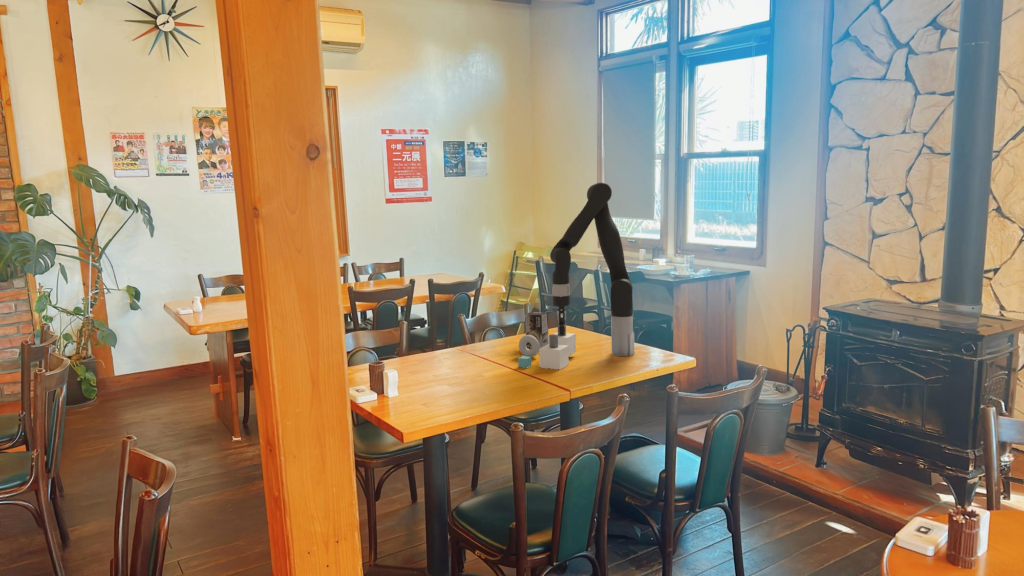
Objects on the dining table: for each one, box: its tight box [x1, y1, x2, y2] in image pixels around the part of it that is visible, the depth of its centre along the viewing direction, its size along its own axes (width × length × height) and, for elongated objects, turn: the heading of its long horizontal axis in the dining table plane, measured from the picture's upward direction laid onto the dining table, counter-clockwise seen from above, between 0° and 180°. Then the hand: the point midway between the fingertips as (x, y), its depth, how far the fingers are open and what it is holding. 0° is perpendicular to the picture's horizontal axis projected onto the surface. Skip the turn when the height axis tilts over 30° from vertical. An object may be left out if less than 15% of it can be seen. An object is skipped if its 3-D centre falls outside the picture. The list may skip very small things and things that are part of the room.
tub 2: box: [538, 333, 570, 371], centre depth 274 cm, size 9×9×13 cm
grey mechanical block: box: [524, 311, 550, 349], centre depth 310 cm, size 9×6×16 cm
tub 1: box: [548, 322, 577, 357], centre depth 288 cm, size 9×9×13 cm
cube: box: [517, 355, 532, 369], centre depth 275 cm, size 4×4×4 cm
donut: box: [518, 334, 540, 358], centre depth 291 cm, size 10×4×10 cm, turn 60°
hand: (562, 333), depth 287 cm, fingers closed on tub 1, 3 cm apart
